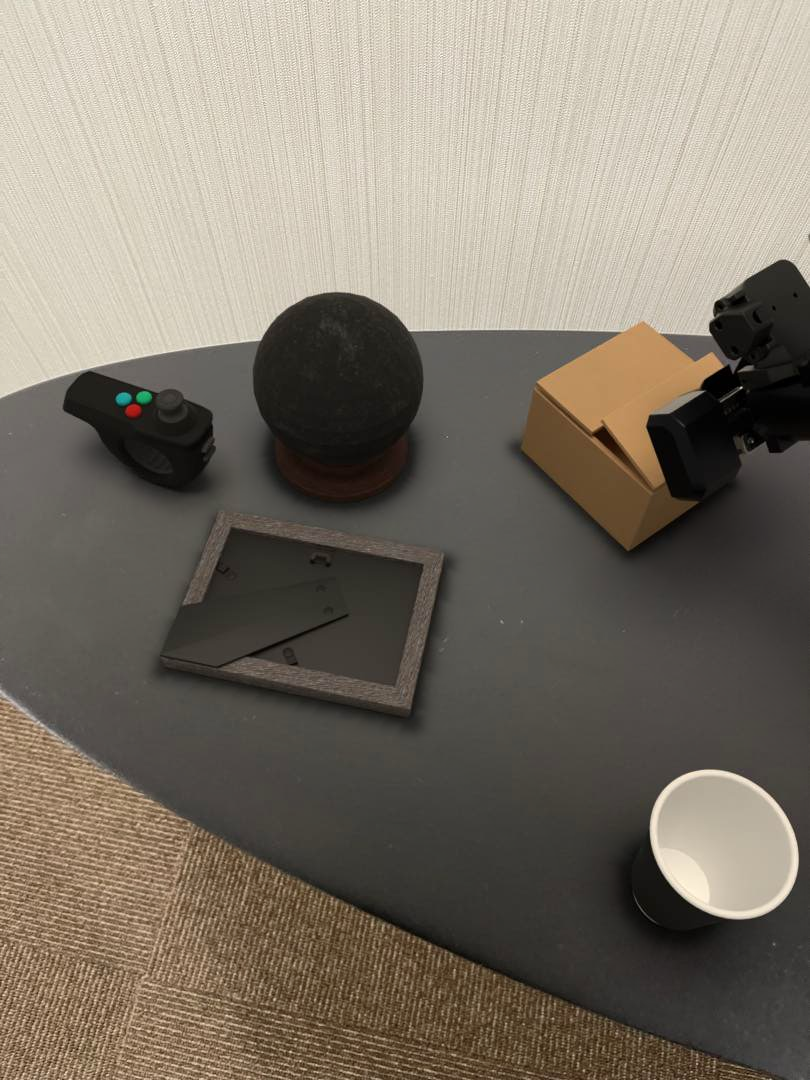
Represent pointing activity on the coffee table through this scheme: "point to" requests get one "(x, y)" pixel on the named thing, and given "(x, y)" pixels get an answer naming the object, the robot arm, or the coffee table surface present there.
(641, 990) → the coffee table surface
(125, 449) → the controller
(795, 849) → the dixie cup
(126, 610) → the coffee table surface
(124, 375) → the coffee table surface
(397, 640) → the picture frame
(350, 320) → the black ball on stand
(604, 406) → the carton
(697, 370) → the flap
